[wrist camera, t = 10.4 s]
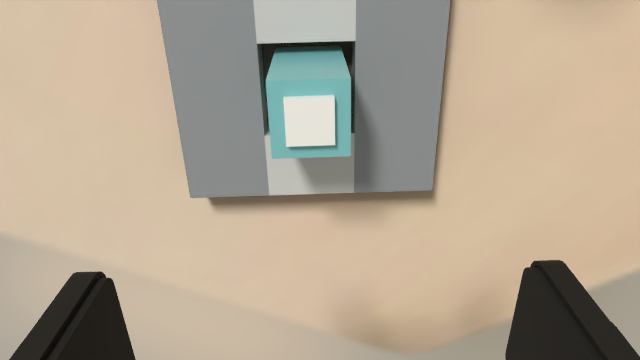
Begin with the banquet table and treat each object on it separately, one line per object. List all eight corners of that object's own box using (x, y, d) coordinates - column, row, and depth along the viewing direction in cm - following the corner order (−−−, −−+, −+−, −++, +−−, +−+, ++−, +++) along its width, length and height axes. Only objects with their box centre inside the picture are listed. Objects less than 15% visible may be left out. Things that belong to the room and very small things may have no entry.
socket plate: (442, -45, 27) (454, -44, 25) (424, 174, 33) (432, 190, 31) (163, -37, 27) (151, -36, 25) (198, 181, 33) (190, 197, 31)
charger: (340, 45, 29) (351, 80, 21) (340, 107, 31) (351, 159, 23) (275, 47, 29) (264, 82, 21) (280, 109, 31) (271, 162, 23)
